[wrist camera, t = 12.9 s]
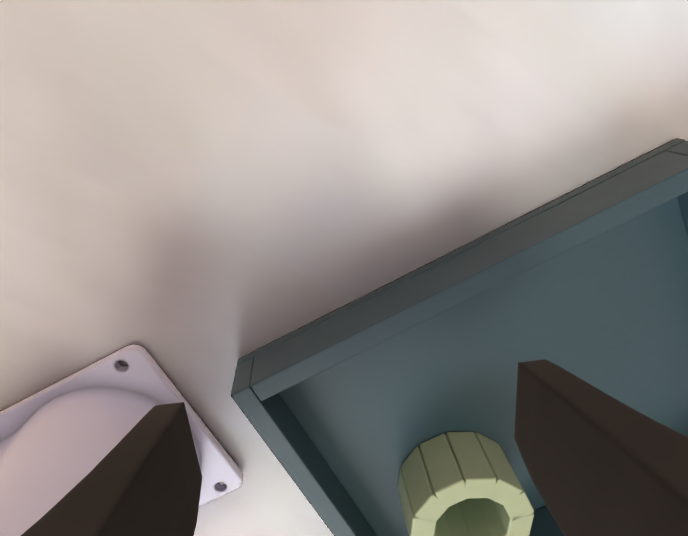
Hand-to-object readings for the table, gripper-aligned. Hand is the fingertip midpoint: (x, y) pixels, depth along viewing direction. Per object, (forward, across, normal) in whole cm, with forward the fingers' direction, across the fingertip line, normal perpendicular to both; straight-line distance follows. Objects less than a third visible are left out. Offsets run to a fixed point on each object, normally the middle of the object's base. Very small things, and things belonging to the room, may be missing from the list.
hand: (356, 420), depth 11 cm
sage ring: (+9, -4, +11) cm, 14 cm away
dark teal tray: (+9, -7, +7) cm, 13 cm away
